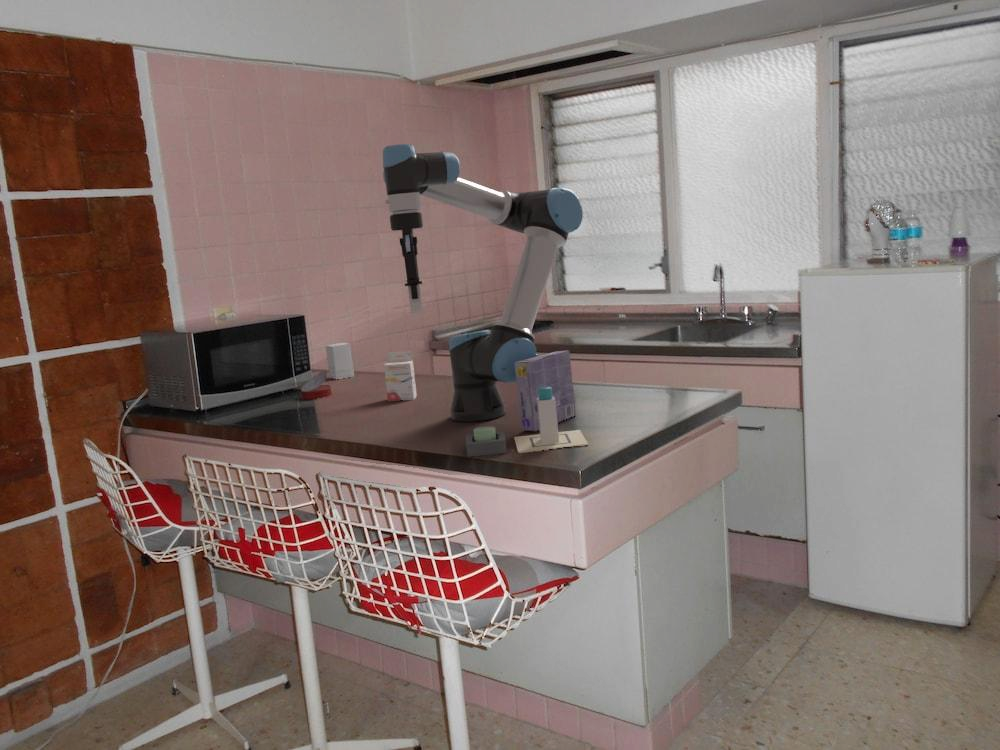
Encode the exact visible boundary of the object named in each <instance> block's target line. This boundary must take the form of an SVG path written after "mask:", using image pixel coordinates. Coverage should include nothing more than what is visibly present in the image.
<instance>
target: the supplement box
mask: <svg viewBox="0 0 1000 750" xmlns="http://www.w3.org/2000/svg"><path fill="white" fill-rule="evenodd" d="M325 353H326V359H327V360H326V361H327V366H328V372H329V374H328V375H329V379H332V378H333V380H335V379H336V381H338V380H337V379H339V380H343V378H345V379H349V378H348V377H350V378H354V377H355V370H354V364H353V357H352V349H351V343H347V342H339V343H332V344H326V345H325Z"/></svg>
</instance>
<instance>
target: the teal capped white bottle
mask: <svg viewBox="0 0 1000 750" xmlns="http://www.w3.org/2000/svg"><path fill="white" fill-rule="evenodd" d="M538 394H539V398H537V408H538V419H539V434H540V440H541V442H542V443H551V442H559V434H558V432H559V426H558V424H559V423H557V412H556V401H555V398H554V396H552V387H541V388H538Z"/></svg>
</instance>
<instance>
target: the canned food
mask: <svg viewBox="0 0 1000 750" xmlns="http://www.w3.org/2000/svg"><path fill="white" fill-rule="evenodd" d="M327 373H328V371H327V370H322V371H321V372H318V373H317V374H316V375H314V376H313V377H311V378H310V379H308V380H307V382H305V383H304V384H303V385H302V387H301V389H300V393H301V399H302V400H303V399H315V400H318V399H317V398H322V399H324V398H323V397H326V398H328V397H327V396H329V397H331V396H332V395H333V393H332V388H331V387H332V386H331V385H327V384H326V385H325V384H324V383H325V381H326V379H327V375H328V374H327ZM330 395H331V396H330Z"/></svg>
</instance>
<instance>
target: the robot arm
mask: <svg viewBox="0 0 1000 750" xmlns="http://www.w3.org/2000/svg"><path fill="white" fill-rule="evenodd" d="M382 168H383V173H382V176H383V177H382V178H383V182H384V184H385V189H386V195H387V199H385V204H386V205H388V211H389V213H391V214H390V216H389V222H390V230H391V231H393V232H396V231H401V233H402V235H401V236H402V237H400V238H399V245H400V248H401V252H402V257H403V259H404V266H405V272H406V274H405V275H406V282H407V283H404V287H407V288H408V290H407V291H408V297H409V307H410V308H409V309H410V314H417V313H418V314H419V313H423V303H422V302H423V301H422V293H421V292H422V291H421V287H420V286H421V285H423V281H422V280H420V277H419V268H418V267H419V266H418V259H417V255H418V253H419V252H418V237H417V236H414V231H413V230H414V229H422V228H423V226H424V224H423V213H422V212H421V211H420V210H421V209H422V204H421V196H422V197H426V198H429V199H431V200H434V201H438V202H440V203H443V204H446V205H449V206H451V207H455V208H458V209H462V210H464V211H467V212H469V213H472V214H474V215H475V214H476V215H479V216H481V217H484V218H488V220H489V222H490V223H492V224H493V225H496V226H499V227H502V228H505V229H508V230H511V231H513V232H518V233H519V234H524V235H525V237H526V242H525V245H524V247H523V251H522V254H521V256H520V259H519V263H518V266H517V268H516V271H515V274H514V278H513V281H512V284H511V287H510V291H509V294H508V296H507V299H506V303H505V305H504V309H503V312H502V315H501V317H500V321H497V322H495V323H494V324H492V327H491V330H490V329H485V330H479V331H478V330H476V331H472V332H468V333H463V334H462V333H461V334H457V335H453V336H451V337H450V339H449V342H448V344H449V348H448V350H449V351H448V352H449V357H450V365H451V366H450V367H451V373H452V382H453V395H452V401H451V404H450V410H449V414H450V419H451V420H452V421H454V422H460V423H461V422H463V423H464V422H465V423H466V422H467V423H469V422H470V423H472V422H482V421H489V420H492V419H493V420H494V419H497V418H500V417H502V416H504V415H506V413H507V412H506V404H505V402H504V400H503V398H502V395H501V393H500V391H499V388H498V385H497V382H499V383H503V384H511V383H513V384H514V383H515V384H517V381H516V372H515V362H518V361H522V360H526V359H529V358H533V357H536V356H539V355H538V353H537V351H538V350H537V347H536V345H535V340H536V338H535V335H534V333H533V331H532V330H533V327H534V324H535V322H536V317H537V314H538V311H539V308H540V305H541V302H542V300H543V296H544V293H545V290H546V286H547V284H548V281H549V277H550V273H551V271H552V268H553V264H554V261H555V258H556V254H557V252H558V249H559V248H561V247H563V246H565V245H566V242H567V241H568V236H569V233H573V232H575V231H576V230H578V229H579V228H580V227H581V224H582V222H583V217H584V216H583V207H582V204H581V201H580V198H579V197H578V196H577V194H576V193H575V192H573V190H571V189H569V188H566V187H565V188H564V187H561V188H560V187H559V188H558V187H552V188H550V189H542V190H535V191H534V190H533V191H526V192H525V191H523V192H513V191H509V190H506V189H499V190H495V189H493V188H490V187H486V186H484V185H481V184H479V183H476V182H474V181H471V180H468V179H465V178H462V177H460V174H461V164H460V160H459V158H458V157H457V155H456V154H455V153H453V152H449V151H445V152H444V151H439V152H421V153H420V152H419V153H418V152H416V150H415V146H414V145H413V144H411V143H400V144H399V143H398V144H391V145H387V146H385V147H384V148H383V149H382Z"/></svg>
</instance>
